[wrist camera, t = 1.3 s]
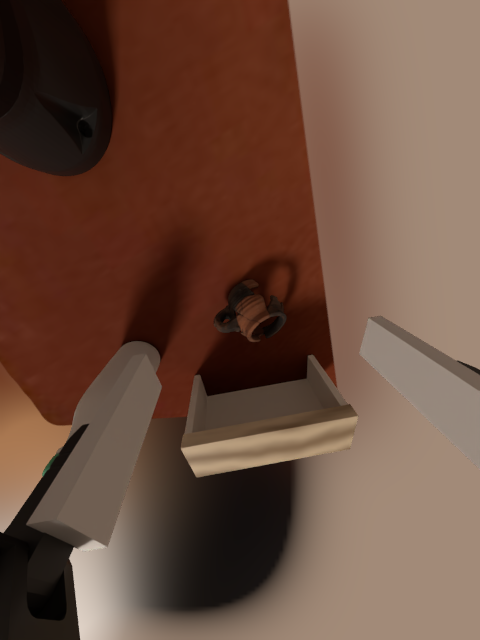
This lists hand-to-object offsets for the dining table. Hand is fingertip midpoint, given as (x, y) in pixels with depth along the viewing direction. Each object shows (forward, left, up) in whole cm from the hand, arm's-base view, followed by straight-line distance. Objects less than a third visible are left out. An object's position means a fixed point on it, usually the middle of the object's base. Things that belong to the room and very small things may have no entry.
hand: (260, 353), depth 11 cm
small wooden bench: (+24, +1, -22) cm, 33 cm away
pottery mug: (+7, +1, -22) cm, 23 cm away
